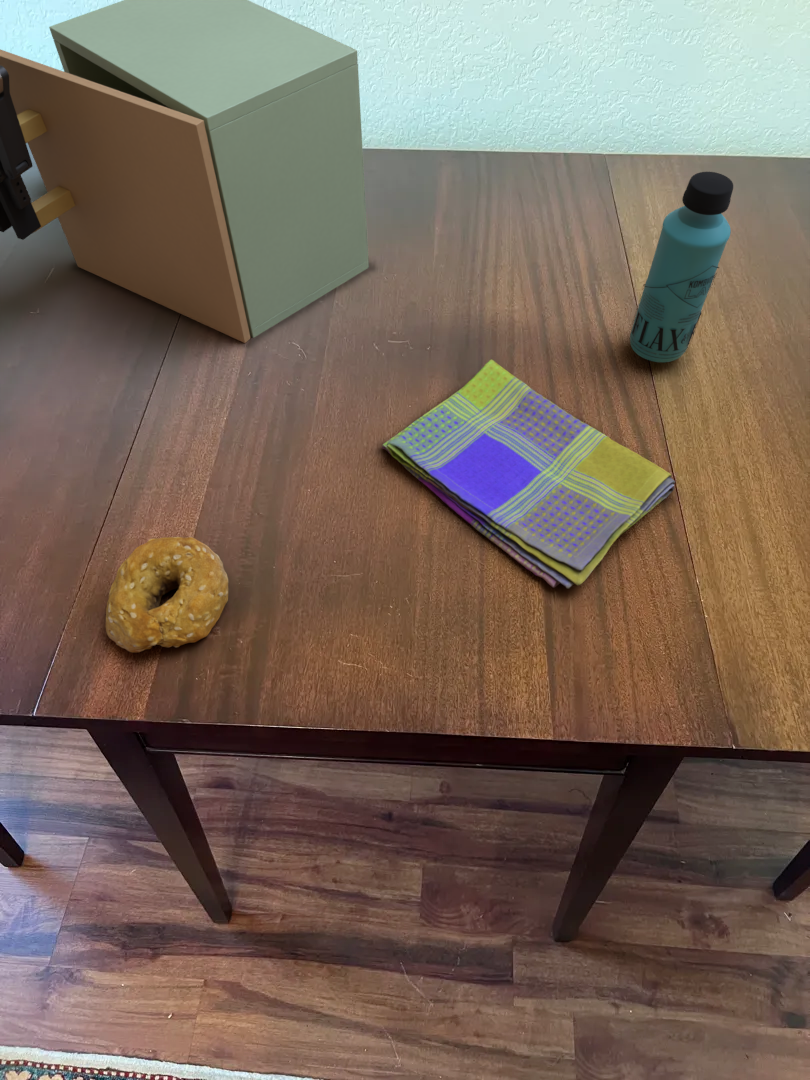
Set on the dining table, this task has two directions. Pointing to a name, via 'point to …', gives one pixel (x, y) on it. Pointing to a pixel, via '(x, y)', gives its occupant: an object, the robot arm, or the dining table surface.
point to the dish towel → (530, 475)
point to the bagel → (151, 576)
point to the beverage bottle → (682, 269)
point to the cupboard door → (130, 191)
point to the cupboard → (250, 131)
